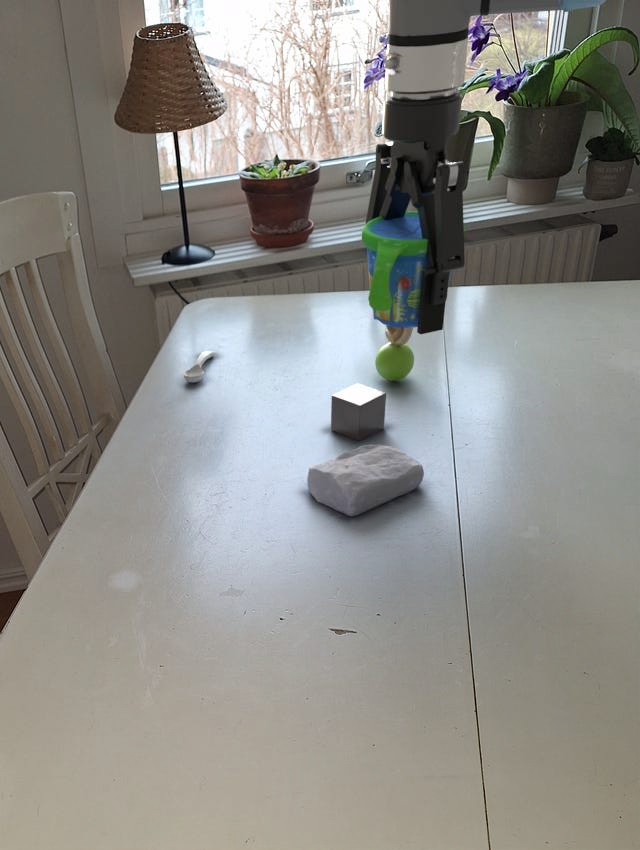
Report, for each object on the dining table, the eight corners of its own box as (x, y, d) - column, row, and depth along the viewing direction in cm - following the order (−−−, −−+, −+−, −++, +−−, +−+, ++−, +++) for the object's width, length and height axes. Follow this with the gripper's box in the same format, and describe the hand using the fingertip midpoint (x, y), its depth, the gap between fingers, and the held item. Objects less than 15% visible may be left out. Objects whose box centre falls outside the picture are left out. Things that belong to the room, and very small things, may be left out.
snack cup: (412, 350, 98) (420, 251, 91) (328, 333, 103) (330, 238, 97) (481, 304, 106) (493, 210, 100) (401, 290, 112) (407, 200, 106)
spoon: (181, 385, 139) (180, 372, 138) (200, 359, 148) (199, 347, 147) (200, 385, 138) (199, 372, 137) (218, 359, 148) (217, 347, 146)
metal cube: (384, 428, 122) (386, 392, 119) (358, 441, 120) (360, 405, 117) (356, 417, 126) (357, 382, 122) (330, 430, 123) (331, 395, 120)
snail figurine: (392, 392, 130) (398, 308, 123) (367, 377, 135) (370, 295, 128) (424, 382, 132) (431, 299, 124) (398, 368, 137) (403, 286, 129)
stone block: (299, 503, 113) (353, 521, 105) (295, 466, 111) (350, 481, 103) (373, 474, 117) (430, 490, 109) (370, 438, 115) (429, 451, 107)
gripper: (338, 84, 98) (332, 293, 112) (450, 113, 81) (427, 356, 95) (401, 73, 100) (388, 282, 114) (524, 100, 83) (491, 342, 97)
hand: (406, 316), depth 105 cm, fingers closed on snack cup, 10 cm apart
